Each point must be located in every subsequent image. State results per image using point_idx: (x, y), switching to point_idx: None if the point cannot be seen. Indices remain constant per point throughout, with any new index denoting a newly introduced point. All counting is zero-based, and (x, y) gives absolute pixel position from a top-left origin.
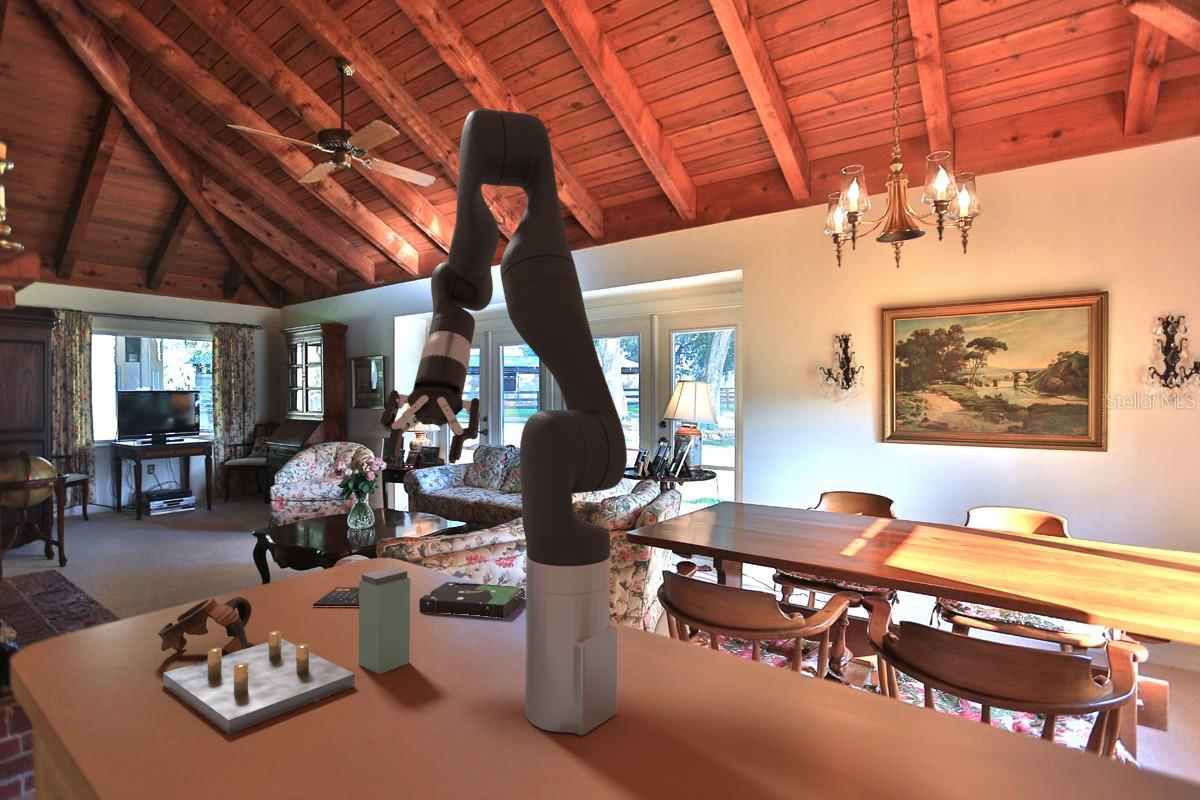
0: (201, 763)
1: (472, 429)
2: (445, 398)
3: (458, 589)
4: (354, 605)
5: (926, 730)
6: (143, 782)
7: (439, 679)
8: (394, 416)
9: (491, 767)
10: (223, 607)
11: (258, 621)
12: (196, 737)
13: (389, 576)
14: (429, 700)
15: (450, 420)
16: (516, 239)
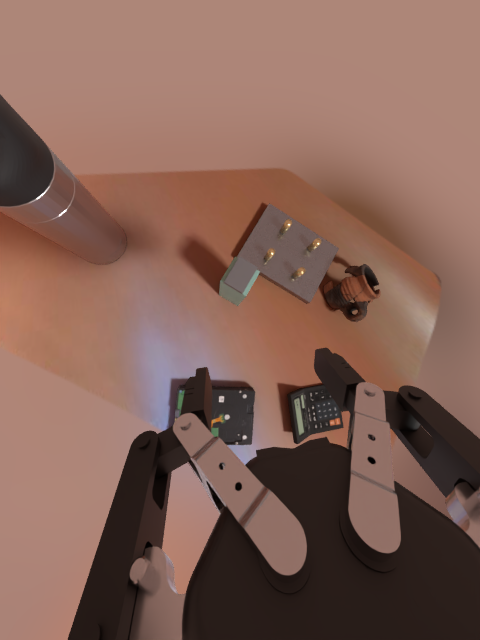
0: (262, 186)
1: (141, 438)
2: (280, 606)
3: (232, 423)
4: (306, 388)
5: None
6: (274, 173)
7: (190, 274)
8: (424, 457)
9: (131, 189)
10: (356, 288)
11: (352, 347)
12: (279, 205)
13: (233, 267)
14: (186, 248)
15: (214, 441)
16: None
